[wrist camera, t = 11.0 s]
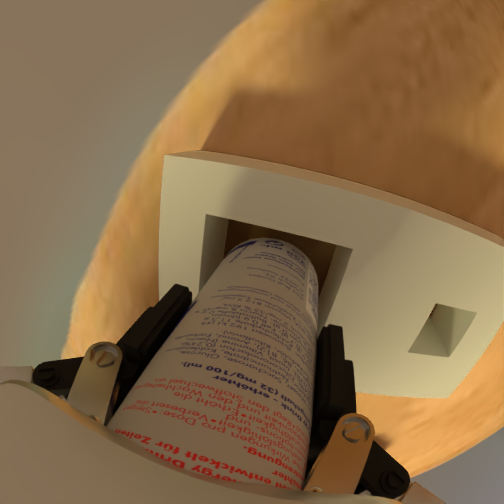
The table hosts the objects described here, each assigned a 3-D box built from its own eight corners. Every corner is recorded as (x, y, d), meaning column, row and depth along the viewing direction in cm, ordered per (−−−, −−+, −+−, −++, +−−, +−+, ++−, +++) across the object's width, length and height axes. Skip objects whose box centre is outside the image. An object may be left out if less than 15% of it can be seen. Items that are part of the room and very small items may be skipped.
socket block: (434, 360, 18) (447, 398, 14) (186, 306, 21) (161, 341, 17) (498, 236, 13) (532, 261, 9) (200, 150, 16) (164, 154, 12)
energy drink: (214, 303, 16) (108, 483, 5) (232, 221, 14) (55, 426, 3) (299, 331, 16) (260, 536, 5) (332, 253, 13) (339, 524, 3)
